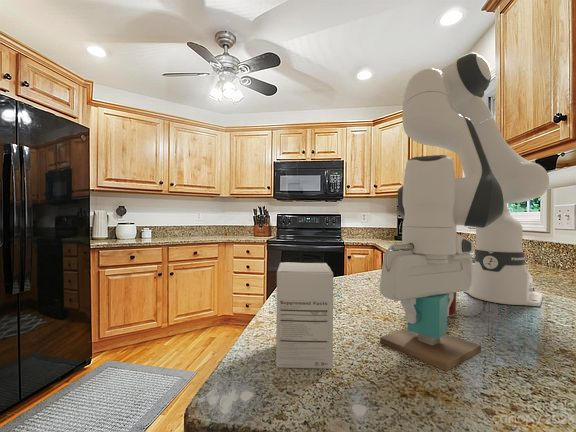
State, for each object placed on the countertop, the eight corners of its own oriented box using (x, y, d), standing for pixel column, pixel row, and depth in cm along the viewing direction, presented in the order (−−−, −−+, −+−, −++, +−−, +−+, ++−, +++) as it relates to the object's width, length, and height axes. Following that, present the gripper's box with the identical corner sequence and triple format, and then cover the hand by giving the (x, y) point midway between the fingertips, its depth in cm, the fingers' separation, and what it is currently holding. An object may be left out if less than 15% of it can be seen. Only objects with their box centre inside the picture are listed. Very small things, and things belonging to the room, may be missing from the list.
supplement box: (278, 342, 52) (279, 261, 52) (327, 344, 52) (327, 262, 52) (274, 368, 43) (275, 270, 43) (333, 370, 43) (334, 271, 43)
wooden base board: (416, 328, 59) (416, 297, 59) (480, 351, 49) (480, 313, 50) (380, 342, 53) (380, 307, 53) (446, 371, 43) (446, 328, 43)
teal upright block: (417, 323, 55) (417, 289, 55) (447, 330, 51) (447, 294, 51) (407, 330, 51) (407, 294, 51) (439, 339, 48) (439, 299, 48)
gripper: (400, 246, 44) (399, 335, 44) (479, 243, 53) (479, 317, 53) (372, 242, 50) (371, 321, 50) (448, 240, 59) (447, 307, 58)
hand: (427, 319), depth 51 cm, fingers closed on teal upright block, 6 cm apart
